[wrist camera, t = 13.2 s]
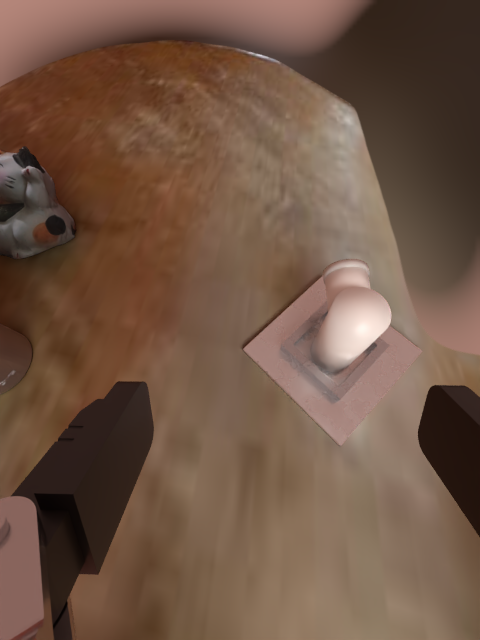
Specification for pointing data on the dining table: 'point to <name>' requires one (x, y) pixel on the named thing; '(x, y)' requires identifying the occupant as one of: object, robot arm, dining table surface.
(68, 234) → the lucky cat figurine
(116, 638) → the dining table surface
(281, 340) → the plate
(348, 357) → the elbow
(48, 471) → the robot arm
